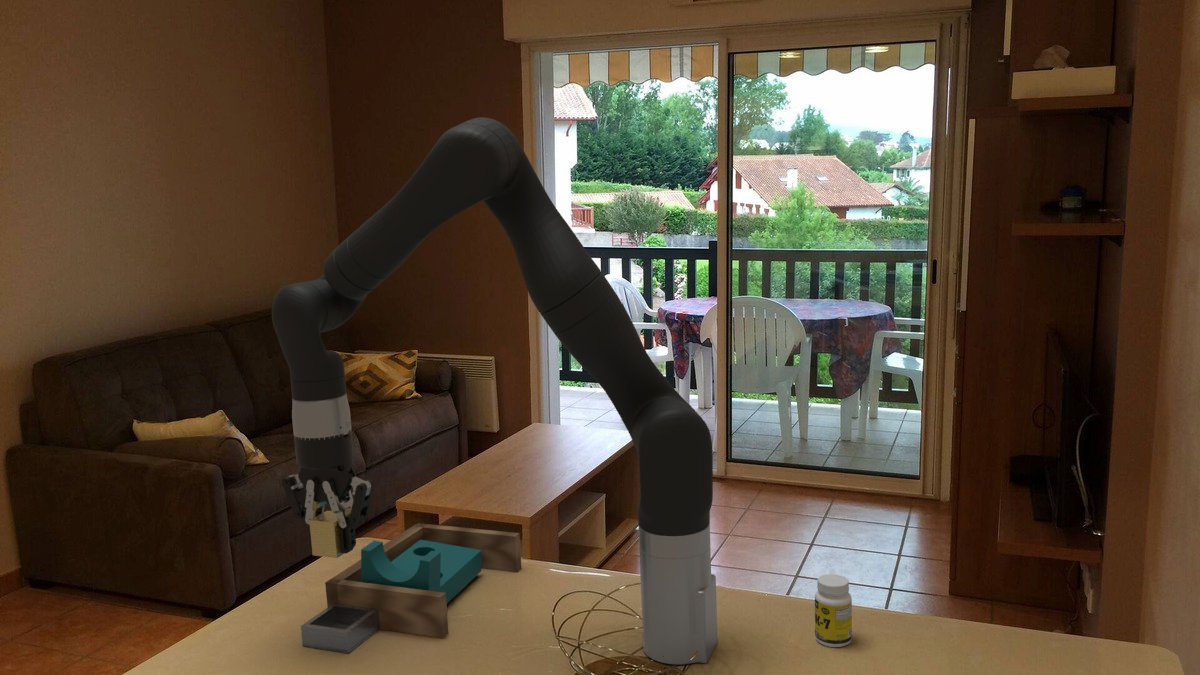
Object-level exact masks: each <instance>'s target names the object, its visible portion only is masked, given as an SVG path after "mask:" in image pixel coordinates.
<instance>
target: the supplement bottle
mask: <svg viewBox="0 0 1200 675" xmlns="http://www.w3.org/2000/svg"><path fill="white" fill-rule="evenodd" d="M816 584H817V585H816V588H817V591H815V594H814V637H815V640H816V642H818V643H819V644H821V645H822V646H826V647H830V648H843V647H846V646H847V645H850V643H851V642H852V639H853V627H852V626H853V621H852V620H853V610H852V608H853V607H852V606H853V604H852V603H853V600H852V599H853V598H852V595H851V593H850V592H849V591H850V585H849V584H850V583H849V578H847V577H846V576H843V575H840V574H835V573H834V574H833V573H827V574H826V573H825V574H823V575H820V576H819V577H817V583H816Z"/></svg>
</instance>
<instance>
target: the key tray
mask: <svg viewBox="0 0 1200 675" xmlns="http://www.w3.org/2000/svg"><path fill="white" fill-rule="evenodd" d="M300 630H301V632H300V633H301V642H302V647H304V648H310V649H317V650H322V651H329V652H330V651H331V652H336V653H343V654H350V653H351V652H353V651H354V650H355V649H356V648H358V647H359V646H360V645H362V643H364V642H366V641H367V640H368V639H370V637H372V636H373V635H374V634H376V633H377V632H378V631H380V630H381V629H380V622H379V610H378V609H374V608H367V607H359V606H352V605H345V604H337V603H334V604H332V605H331V606H329V607H326V608H325V609H323V610H322V611H320V612H319V613H318V614H316V615H314V616H313V617H311V618H310V619H309V620H307V621H305V622H304V623H303V624H301V625H300Z"/></svg>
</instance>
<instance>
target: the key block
mask: <svg viewBox="0 0 1200 675" xmlns="http://www.w3.org/2000/svg"><path fill="white" fill-rule="evenodd" d="M345 514H346V513H345ZM309 522H310V533H311V544H312V545H311V544H310V545H311V553H312V554H311V555H312V556H316V557H325V558H333V559H339V558H340V557H342V556H344V555H345V553H341V550H340V539H339V528H340V526H339V523H338V520H337V517H336V514H335V513H333V512H332V510H326V511H324V513H322V514H320V515H318V516H316V517H314V518H313V519H311V520H309Z"/></svg>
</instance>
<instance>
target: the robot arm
mask: <svg viewBox="0 0 1200 675" xmlns="http://www.w3.org/2000/svg"><path fill="white" fill-rule="evenodd" d="M481 202H483V203H484V205H485V206H487V208H488V209H489V211H490V212H491V213H492V214H493V216H494V217H495V218H496V220H497V221H498V222H499V224H500V226H501V227H502V229H503V230H504V232H505V233H506V235H507V237H508V239H509V241H510V243H511V246H512V248H513V251H514V254H515V257H516V260H517V261H516V262H517V264H518V267H519V270H520V272H521V276H522V279H523V281H524V285H525V288H526V290H527V292H528V295H529V297H530V299H531V301H532V303H533V305H534V307H535V308H536V309H537V311H538V312H539V313H540V316H542V318H543V319H544V321H545V323H546V324H547V325H548V327H549V328H550V329H551V332H552V333H553V334H554V335H555V337H556V338H557V339H558V341H560V343H561V344H562V345H563V347H564V348H565V349H566V350H567V352H568V353H569V354H570V355H571V357H573V358H574V359H575V361H576V362H577V363H578V364H579V365H580V366H581V367H582V368H583V369H584V370H585V371H586V372H587V373H588V374H589V375H590V376H591V377H592V379H594V380H595V381H596V382H597V383H598V385H600V388H601V389H603V391H604V392H605V394H606V396H607V397H608V398H609V400H610V401H611V403H612V406H614V409H615V410H616V411H617V414H618V415H619V416H620V419H621V421H622V422H623V425H624V426H625V428H626V430H627V432H628V435H629V436H630V438H631V441H632V444H633V445H634V447H635V450H636V451H637V453H638V463H639V493H640V494H639V503H638V505H637V520H638V523H637V524H638V525H637V526H638V546H639V547H638V550H639V551H638V552H639V573H640V575H639V576H640V595H641V596H640V597H641V598H640V599H641V600H640V601H641V602H640V603H641V621H642V623H641V624H642V640H643V641H642V643H643V644H642V645H643V652H644V653H645V654H646V656H647V657H649V658H650V659H652V660H654V661H656V662H658V663H662V664H668V665H690V664H694V663H702V664H703V663H704V664H705V663H707V662H708V660H710V657H711V655H712V654H713V651H714V650H715V647H716V646H717V644H718V613H717V612H718V610H717V607H718V606H717V605H718V604H717V576H716V575H715V574H714V573H713V574H712V556H711V555H712V554H711V553H712V552H711V523H710V522H711V521H710V520H711V515H710V514H711V513H710V512H711V509H712V505H713V500H714V499H713V498H714V494H713V493H714V492H713V491H714V490H713V489H714V488H713V487H714V483H713V482H714V480H713V479H714V472H713V471H714V468H713V467H714V466H713V465H714V463H713V462H714V459H713V458H714V457H713V455H714V454H713V442H712V435H711V432H710V431H711V430H710V428H709V426H708V425H707V423H706V421H705V420H704V418H702V416H701V415H700V414H699V413H698V412H697V411H696V409H695V408H693V406H692V405H690V404H689V403H688V402H687V401H686V400H685V399H684V398H683V397H682V395H681V394H680V393H679V392H678V391H677V390H676V389H675V388H674V387H673V385H672V384H671V383H670V381H668V380H667V378H666V377H665V375H664V374H663V373H662V372H661V371H660V370H659V368H658V367H657V365H656V364H655V363H654V361H653V360H652V359H651V357H650V356H649V354H648V352H647V350H646V349H645V346H644V344H643V342H642V340H641V338H640V335H639V334H638V331H637V329H636V326H635V325H634V322H633V320H632V319H631V316H630V314H629V313H628V311H627V309H626V307H625V306H624V304H623V302H622V301H621V299H620V297H619V295H618V294H617V292H616V291H615V290H614V288H613V287H612V285H611V283H610V282H609V280H608V279H607V277H606V276H605V275H604V273H603V272H602V271H601V269H600V267H599V266H598V265H597V263H596V262H595V261H594V260H593V258H592V256H591V255H590V254H589V252H588V251H587V250H586V248H585V247H584V245H583V244H582V242H581V241H580V239H579V238H578V236H577V235H576V234H575V232H574V231H573V229H572V228H571V226H570V225H569V224H568V222H567V221H566V220H565V219H564V217H563V216H562V214H561V213H560V212H559V210H558V209H557V207H556V206H555V204H554V203H553V201H552V200H551V198H550V196H549V194H548V193H547V191H546V190H545V187H544V186H543V183H542V182H541V181H540V179H539V177H538V175H537V173H536V171H535V169H534V168H533V166H532V164H531V161H530V159H529V158H528V156H527V153H526V152H525V151H524V148H523V147H522V145H521V143H520V142H519V139H518V138H517V137H516V135H515V134H514V133H513V132H512V130H510V129H509V128H508V127H507V126H506V125H504V124H503V123H501V122H500V121H498V120H495V119H493V118H490V117H484V116H483V117H480V116H479V117H475V118H472V119H469V120H466V121H464V122H462V123H460V124H457V125H455V126H453V127H451V128H450V129H448V130H447V131H445V132H443V134H442V135H441V136H440V137H439V139H438V140H437V141H436V142H435V144H434V145H433V147H432V148H431V150H430V151H429V153H427V155H426V157H425V158H424V159H423V160H422V161H421V163H420V165H419V166H418V167H417V169H416V170H415V172H414V173H413V174H412V175H411V177H410V178H409V179H408V180H407V182H406V183H405V184H403V186H402V187H401V188H400V189H399V190H398V192H397V193H396V194H395V195H394V196H393V197H392V198H391V199H389V201H388V202H387V203H386V204H385V205H383V206H382V207H381V208H380V209H378V211H377V212H375V213H374V214H373V215H372V216H370V217H369V218H368V219H367V220H365V222H363V223H362V224H361V225H360V226H358V228H357V229H355V230H354V231H353V232H351V234H350V235H348V236H347V237H346V238H345V239H344V240H343V241H342V242H341V243H340V244H339V245H338V246H336V247H335V249H334V250H332V252H331V253H330V254H329V255H328V256H327V257H326V259H325V261H324V263H323V275H321V276H320V277H318V278H316V279H315V280H309V281H302V282H295V283H291V284H287V285H285V286H283V287H282V288H280V289H279V290H278V291H277V293H276V294H275V296H274V299H273V303H272V307H271V320H272V324H273V329H274V331H275V334H276V337H277V340H278V344H279V345H280V348H281V351H282V354H283V356H284V359H285V361H286V363H287V366H288V368H289V377H290V389H291V400H292V401H291V403H292V406H291V408H292V410H291V419H292V420H291V421H292V428H293V429H292V430H293V441H294V451H295V462H296V464H297V466H299V470H298V472H296V473H293V474H291V475H288V476H286V477H284V478H282V479H281V484H282V487H283V490H284V492H285V495H286V498H287V500H288V502H289V503H288V504H289V505H290V509H291V511H292V514H293V516H294V518H295V520H296V519H297V520H303V521H305V524H307V529H308V538H309V543H310V546H312V544H311V533H310V522H309V520H311V519H313V518H314V517H316V516H318V515H320V514H322V513H324V512H325V508H326V505H327V504H329V506H330V511H332V512H333V513H335V514H336V517H337V520H338V523H339V526H340V528H339V539H340V550H341V553H345V554H348V553H350V552H352V551H353V550H354V549H355V547H356V546H357V537H356V525H357V524H358V523H360V522H362V521H363V520H365V519H367V518H368V515H369V511H370V506H371V501H372V496H373V493H374V488H375V482H374V480H372V479H368V480H364V479H362V478H359V477H357V474H356V472H355V470H354V467H353V460H354V455H355V453H354V442H353V430H352V420H351V410H350V405H349V400H348V395H347V382H346V373H345V365H344V361H343V357H342V356H341V354H340V353H338V352H336V351H333V350H329V349H328V350H327V349H326V347H325V345H324V341H323V340H322V337H321V333H326V332H330V331H333V330H335V329H338V328H339V327H341V326H342V325H343V324H345V323H346V322H347V321H348V320H349V319H350V318H352V317H353V316H354V314H355V313H356V312H357V310H358V309H359V308H360V306H361V305H362V304H363V303H364V301H365V299H366V297H367V296H368V295H369V293H371V292H372V291H374V290H375V289H376V288H378V286H379V285H381V284H382V283H383V282H384V281H385V280H386V279H388V277H390V276H391V275H392V274H393V273H395V271H396V270H397V269H398V268H400V266H402V265H403V264H404V262H406V260H408V258H409V257H410V256H411V255H412V254H413V253H414V251H415V250H416V249H417V248H418V247H419V246H420V245H421V243H422V242H424V241H425V240H426V238H428V236H429V235H431V234H432V233H433V232H434V231H436V230H437V229H438V228H440V227H441V226H442V225H444V224H445V223H446V222H448V221H449V220H451V219H453V218H455V217H456V216H458V215H459V214H461V213H462V212H464V211H466V210H468V209H470V208H472V207H473V206H475V205H477V204H478V203H481ZM351 489H352V491H351ZM341 501H342V502H341ZM345 513H346V514H345ZM345 554H344V555H345ZM697 651H698V654H697V656H695V658H693V659H692V660H690V659H691V658H692V656H693V655H694V654H695V653H696V652H697ZM663 656H664V657H663Z"/></svg>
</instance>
